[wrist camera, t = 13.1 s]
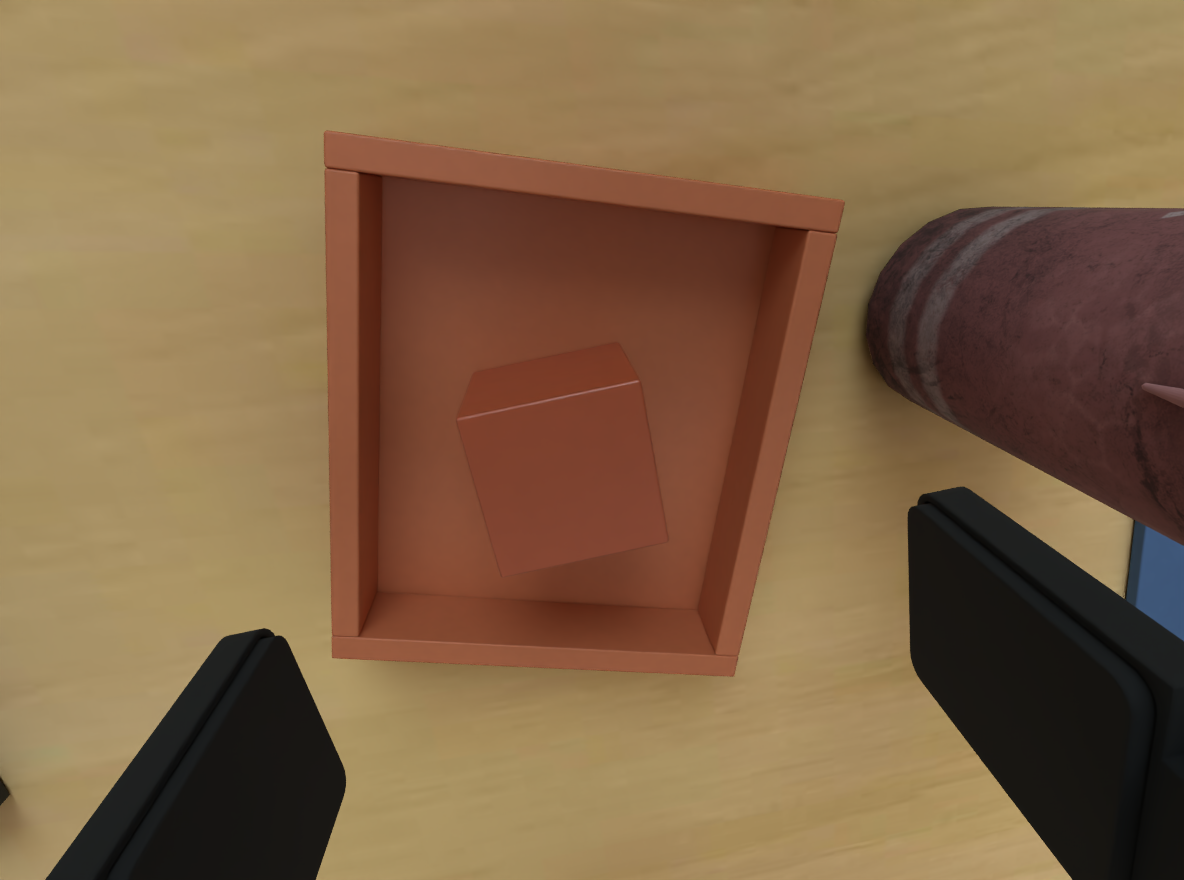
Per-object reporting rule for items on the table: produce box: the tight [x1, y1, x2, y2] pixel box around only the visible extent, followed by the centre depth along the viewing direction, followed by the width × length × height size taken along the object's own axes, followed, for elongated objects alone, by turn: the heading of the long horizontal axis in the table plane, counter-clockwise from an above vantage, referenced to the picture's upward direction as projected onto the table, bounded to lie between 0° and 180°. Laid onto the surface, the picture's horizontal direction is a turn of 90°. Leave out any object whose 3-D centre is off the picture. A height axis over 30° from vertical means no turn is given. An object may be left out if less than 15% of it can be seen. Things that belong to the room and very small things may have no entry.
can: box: [866, 207, 1184, 546], centre depth 14 cm, size 6×6×14 cm
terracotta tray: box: [324, 130, 845, 676], centre depth 19 cm, size 15×13×3 cm
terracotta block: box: [456, 342, 669, 578], centre depth 18 cm, size 4×4×4 cm
